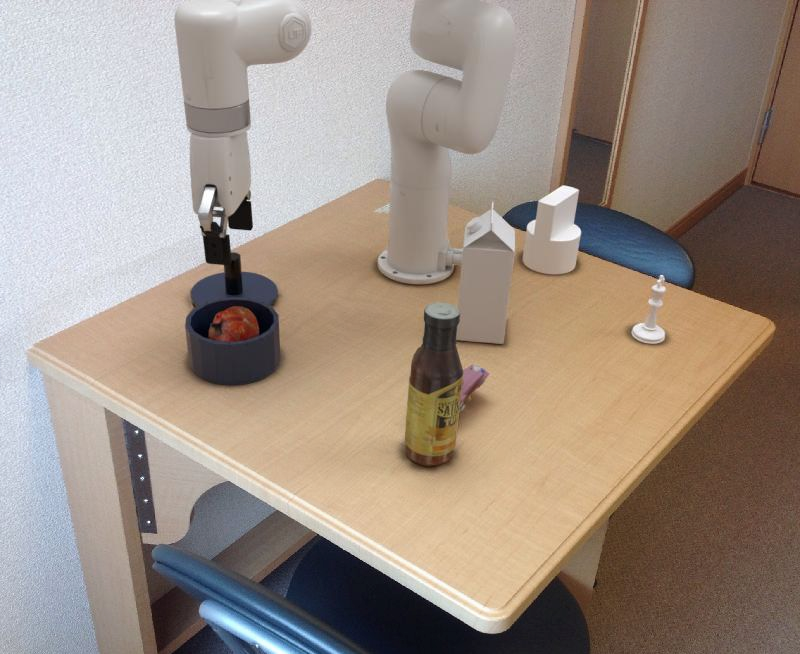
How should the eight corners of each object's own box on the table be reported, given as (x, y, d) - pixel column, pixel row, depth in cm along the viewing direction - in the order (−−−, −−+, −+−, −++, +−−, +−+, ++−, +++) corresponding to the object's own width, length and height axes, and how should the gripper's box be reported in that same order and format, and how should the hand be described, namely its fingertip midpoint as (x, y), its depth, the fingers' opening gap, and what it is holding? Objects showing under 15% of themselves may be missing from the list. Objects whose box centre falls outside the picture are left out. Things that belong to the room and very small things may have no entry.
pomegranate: (238, 349, 133) (183, 328, 126) (267, 309, 131) (213, 286, 124) (259, 379, 129) (203, 359, 121) (289, 339, 127) (234, 316, 119)
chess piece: (670, 335, 138) (685, 276, 132) (654, 347, 135) (668, 287, 129) (642, 323, 141) (655, 264, 135) (625, 334, 138) (637, 275, 132)
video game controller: (439, 436, 118) (464, 405, 113) (412, 413, 118) (437, 381, 114) (475, 400, 125) (501, 369, 120) (450, 377, 125) (474, 346, 120)
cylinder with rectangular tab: (538, 245, 161) (547, 180, 154) (584, 260, 157) (596, 194, 150) (512, 263, 155) (521, 196, 148) (560, 279, 151) (571, 211, 144)
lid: (277, 276, 148) (275, 236, 144) (278, 318, 137) (276, 276, 133) (193, 278, 146) (189, 237, 142) (188, 320, 136) (183, 277, 132)
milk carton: (503, 320, 140) (518, 203, 128) (503, 345, 134) (518, 224, 123) (457, 316, 140) (467, 199, 129) (454, 341, 134) (465, 220, 123)
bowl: (279, 335, 134) (278, 295, 130) (281, 384, 123) (279, 343, 120) (192, 337, 132) (188, 297, 128) (186, 387, 122) (182, 345, 118)
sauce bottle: (440, 475, 109) (452, 332, 98) (394, 457, 112) (401, 316, 100) (464, 446, 114) (479, 307, 103) (420, 429, 117) (429, 291, 105)
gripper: (209, 88, 115) (221, 214, 125) (161, 138, 101) (179, 275, 112) (267, 92, 114) (275, 219, 125) (227, 143, 101) (239, 281, 111)
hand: (230, 245), depth 118 cm, fingers open, 9 cm apart
